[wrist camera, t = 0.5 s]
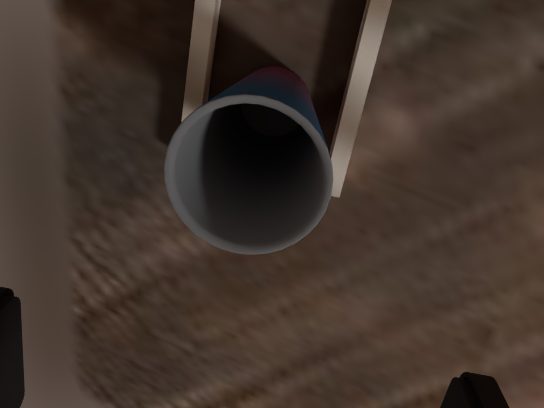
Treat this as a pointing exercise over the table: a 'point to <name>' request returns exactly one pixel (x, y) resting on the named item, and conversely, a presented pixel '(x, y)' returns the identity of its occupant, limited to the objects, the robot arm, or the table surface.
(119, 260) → the table surface
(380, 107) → the table surface
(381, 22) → the track
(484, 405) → the robot arm
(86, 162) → the table surface
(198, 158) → the cup
